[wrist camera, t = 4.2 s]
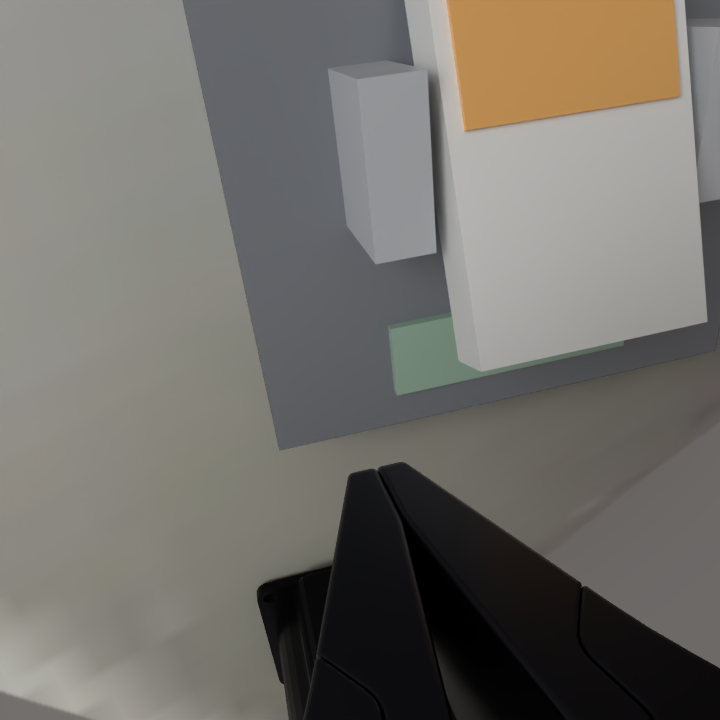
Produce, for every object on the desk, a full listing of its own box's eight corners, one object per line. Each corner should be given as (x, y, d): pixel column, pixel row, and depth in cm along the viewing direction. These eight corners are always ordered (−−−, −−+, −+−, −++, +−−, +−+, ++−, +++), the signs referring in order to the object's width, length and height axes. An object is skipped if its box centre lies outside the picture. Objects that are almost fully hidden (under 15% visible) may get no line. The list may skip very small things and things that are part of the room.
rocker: (665, 315, 17) (711, 322, 16) (458, 361, 16) (483, 372, 15) (631, -87, 15) (680, -129, 14) (394, -61, 14) (415, -103, 13)
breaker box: (662, 317, 25) (786, 396, 20) (269, 402, 23) (292, 517, 18) (751, -299, 17) (1016, -449, 11) (126, -263, 14) (88, -429, 9)
